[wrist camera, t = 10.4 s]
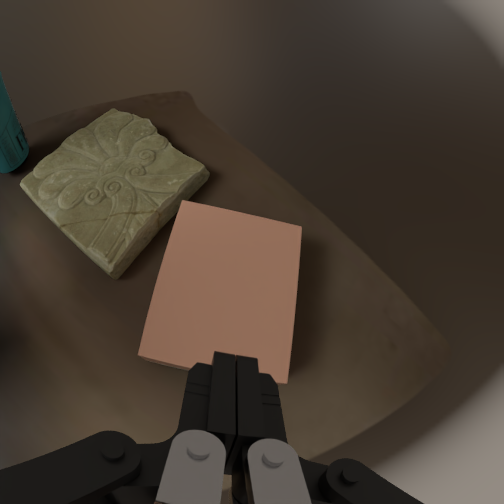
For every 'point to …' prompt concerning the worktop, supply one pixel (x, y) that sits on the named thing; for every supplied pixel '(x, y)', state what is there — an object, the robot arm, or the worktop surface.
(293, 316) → the terracotta tile
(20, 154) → the beverage bottle
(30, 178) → the decorative tile
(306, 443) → the worktop surface
